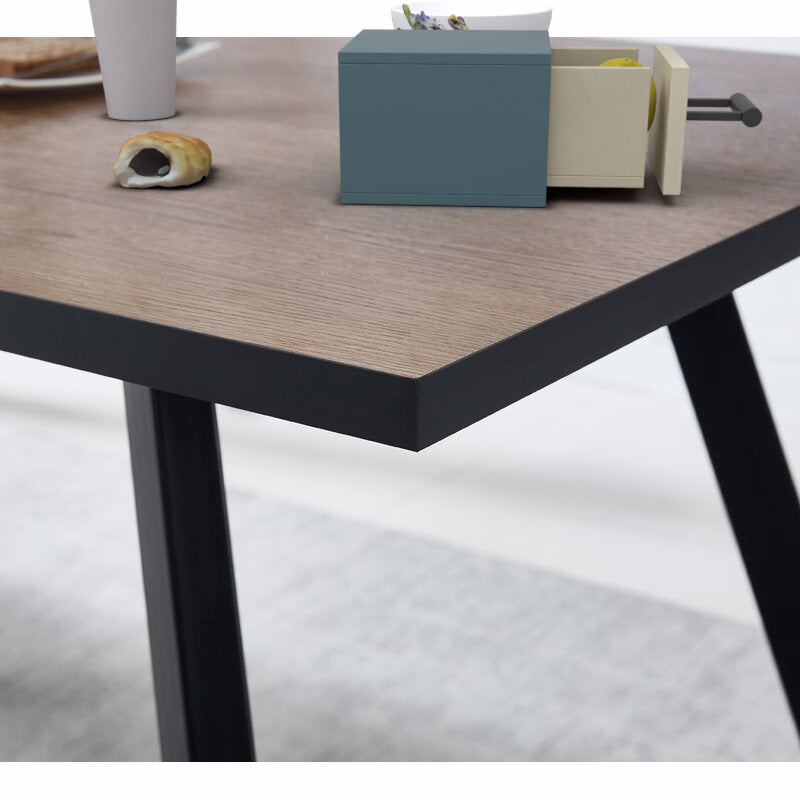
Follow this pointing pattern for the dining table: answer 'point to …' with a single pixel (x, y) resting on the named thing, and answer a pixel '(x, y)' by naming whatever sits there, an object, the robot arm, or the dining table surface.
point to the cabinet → (445, 117)
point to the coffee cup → (137, 56)
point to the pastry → (162, 160)
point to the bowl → (479, 14)
